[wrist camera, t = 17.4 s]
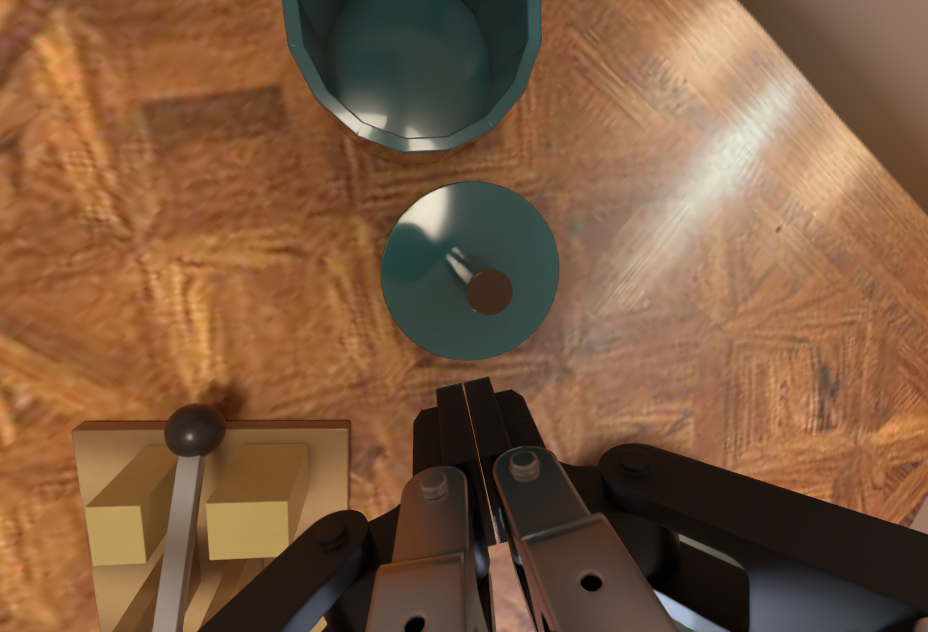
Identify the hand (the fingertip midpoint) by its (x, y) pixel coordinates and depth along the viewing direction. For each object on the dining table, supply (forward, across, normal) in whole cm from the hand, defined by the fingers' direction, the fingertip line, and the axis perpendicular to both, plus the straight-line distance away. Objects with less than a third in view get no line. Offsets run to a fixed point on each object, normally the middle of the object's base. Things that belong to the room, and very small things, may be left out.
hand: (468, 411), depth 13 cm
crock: (+18, -1, -12) cm, 22 cm away
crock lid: (+17, -2, 0) cm, 17 cm away
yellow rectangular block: (+15, +19, +8) cm, 25 cm away
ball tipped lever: (+10, +17, +10) cm, 22 cm away
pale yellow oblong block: (+15, +13, +10) cm, 22 cm away
